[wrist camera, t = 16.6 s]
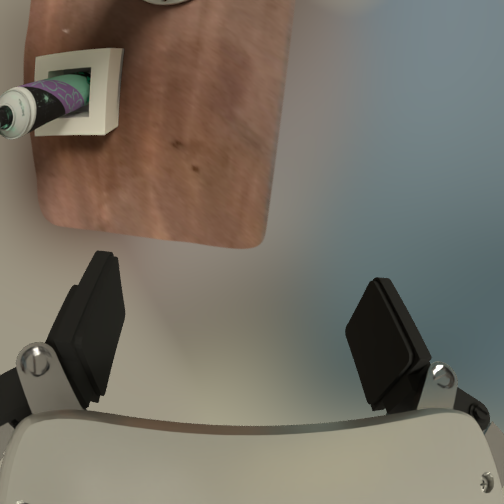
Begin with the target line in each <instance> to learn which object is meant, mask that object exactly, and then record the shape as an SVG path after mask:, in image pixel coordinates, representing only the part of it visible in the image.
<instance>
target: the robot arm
mask: <svg viewBox="0 0 504 504" xmlns="http://www.w3.org/2000/svg"><path fill="white" fill-rule="evenodd" d="M144 1H146V2H148V3H151V4H156V5H174V4H179V3H183V2H186V1H188V0H167V1H166V2H164V0H144ZM124 319H125V307H124V301H123V294H122V287H121V280H120V271H119V263H118V258H117V257H114V256H113V253H112V252H106V251H96V252H95V254H94V256H93V258H92V260H91V262H90V263H89V265H88V267H87V269H86V271H85V273H84V275H83V277H82V279H81V281H80V283H79V285H73V286H72V287H71V289H70V291H69V293H68V295H67V297H66V299H65V301H64V303H63V305H62V307H61V309H60V311H59V313H58V316H57V318H56V320H55V322H54V324H53V326H52V328H51V331H50V333H49V335H48V338H47V340H46V342H45V343H42V342H35V343H31V344H29V345H27V346H25V347H24V348H23V349H22V350H21V351H20V353H19V354H18V356H17V360H16V367H15V368H13V369H11V370H9V371H7V372H5V373H4V374H2V375H0V460H1V459H2V458H3V457H4V458H3V462H2V465H1V470H0V504H504V495H503V491H502V488H503V486H504V434H503V433H502V432H501V430H500V429H499V428H498V427H497V426H496V425H495V424H494V423H493V422H491V423H490V416H489V412H488V410H487V408H486V407H485V405H484V404H482V403H481V402H480V401H478V400H477V399H475V398H473V397H472V396H470V395H469V394H467V393H466V392H464V391H463V390H461V389H459V388H458V387H457V385H458V383H457V381H458V380H457V376H456V374H455V372H454V370H453V369H452V368H451V367H450V366H448V365H447V364H445V363H443V362H434V363H432V364H430V362H429V361H430V360H431V355H430V353H429V351H428V349H427V347H426V345H425V343H424V341H423V339H422V337H421V335H420V333H419V331H418V329H417V327H416V325H415V323H414V321H413V320H412V318H411V316H410V314H409V312H408V310H407V308H406V306H405V305H404V303H403V301H402V299H401V298H400V296H399V294H398V292H397V290H396V289H395V287H394V285H393V283H392V282H391V280H390V279H388V278H378V277H377V278H374V279H373V281H370V282H369V284H368V286H367V288H366V290H365V292H364V294H363V297H362V298H361V300H360V302H359V304H358V306H357V308H356V309H355V311H354V313H353V315H352V317H351V319H350V321H349V323H348V324H347V326H346V330H345V333H346V338H347V341H348V344H349V347H350V350H351V353H352V356H353V359H354V362H355V365H356V368H357V371H358V374H359V377H360V380H361V383H362V387H363V390H364V393H365V397H366V400H367V402H368V404H371V407H372V411H376V410H383V409H385V408H386V411H387V413H386V415H384V416H378V417H371V418H364V419H357V420H348V421H339V422H329V423H318V424H303V425H281V426H227V425H206V424H191V423H179V422H170V421H160V420H152V419H144V418H136V417H129V416H122V415H116V414H110V413H102V412H96V411H87V410H86V408H87V407H89V403H90V401H92V402H96V403H98V402H99V398H100V395H101V396H104V395H105V392H106V388H107V383H108V379H109V375H110V371H111V367H112V363H113V359H114V355H115V351H116V348H117V344H118V341H119V337H120V333H121V330H122V326H123V323H124ZM5 450H6V451H5ZM4 451H5V455H3V452H4Z"/></svg>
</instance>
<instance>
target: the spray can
mask: <svg viewBox="0 0 504 504" xmlns="http://www.w3.org/2000/svg"><path fill="white" fill-rule="evenodd" d="M90 80H91V73H90V72H86V71H82V72H76V73H71V74H66V75H61V76H56V77H52V78H48V79H44V80H40V81H36V82H32V83H28V84H25V85H21V86H18V87H14V88H12V89H10V90H8V91H6V92H4V93H3V94H2V95H1V96H0V134H1V135H2V136H3V137H5V138H6V139H16V138H19V137H22V136H24V135H25V134H27V133H29V132H31V131H33V130H35V129H37V128H39V127H41V126H43V125H44V124H46V123H48V122H50V121H53V120H55V119H57V118H59V117H61V116H63V115H65V114H67V113H70V112H72V111H74V110H76V109H79V108H81V107H83V106H86V105H88V104H89V97H90Z"/></svg>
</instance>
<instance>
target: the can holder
mask: <svg viewBox="0 0 504 504" xmlns="http://www.w3.org/2000/svg"><path fill="white" fill-rule="evenodd" d="M123 56H124V49H123V48H101V49H89V50H80V51H71V52H63V53H56V54H50V55H44V56H39V57H36V61H35V79H34V82H36V81H40V80H44V79H48V78H52V77H56V76H61V75H66V74H71V73H76V72H82V71H86V72H90V73H91V80H90V97H89V104H88V105H86V106H83V107H81V108H79V109H76V110H74V111H72V112H70V113H67V114H65V115H63V116H61V117H59V118H57V119H55V120H53V121H50V122H48V123H46V124H44V125H43V126H41V127H39V128H37V129H35V136H52V135H106V134H107V133H109V132H110V131H111V130H113V129H114V128H116V127H117V126H118V118H119V100H120V86H121V75H122V65H123Z"/></svg>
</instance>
